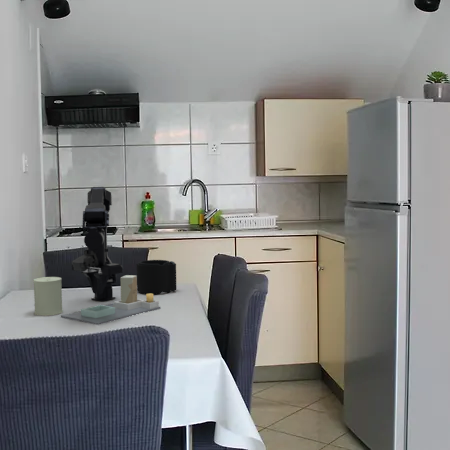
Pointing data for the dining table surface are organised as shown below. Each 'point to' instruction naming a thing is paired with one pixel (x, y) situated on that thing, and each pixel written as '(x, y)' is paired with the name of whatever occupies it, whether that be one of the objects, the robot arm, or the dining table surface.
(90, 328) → the dining table surface
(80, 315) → the grey board
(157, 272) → the black basket
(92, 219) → the robot arm
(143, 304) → the frame
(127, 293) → the box
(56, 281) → the can
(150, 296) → the button
